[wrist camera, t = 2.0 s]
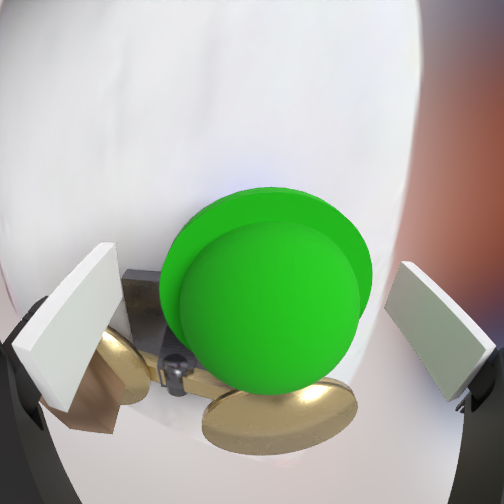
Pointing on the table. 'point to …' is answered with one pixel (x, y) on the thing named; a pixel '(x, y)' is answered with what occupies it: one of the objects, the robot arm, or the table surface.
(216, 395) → the balance
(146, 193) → the table surface
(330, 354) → the toy
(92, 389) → the walnut block
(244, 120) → the table surface
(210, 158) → the table surface
